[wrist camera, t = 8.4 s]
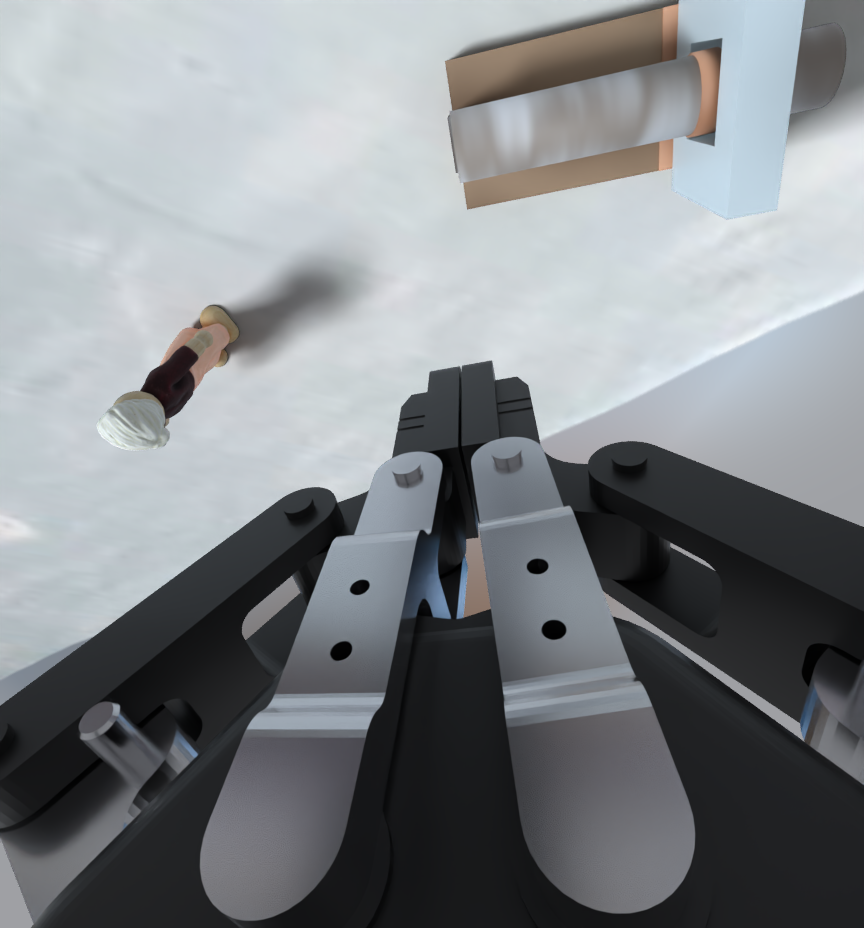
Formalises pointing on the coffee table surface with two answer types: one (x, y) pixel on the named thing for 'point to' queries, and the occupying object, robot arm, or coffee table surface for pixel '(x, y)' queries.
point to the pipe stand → (599, 103)
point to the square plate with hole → (740, 103)
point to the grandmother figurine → (169, 384)
